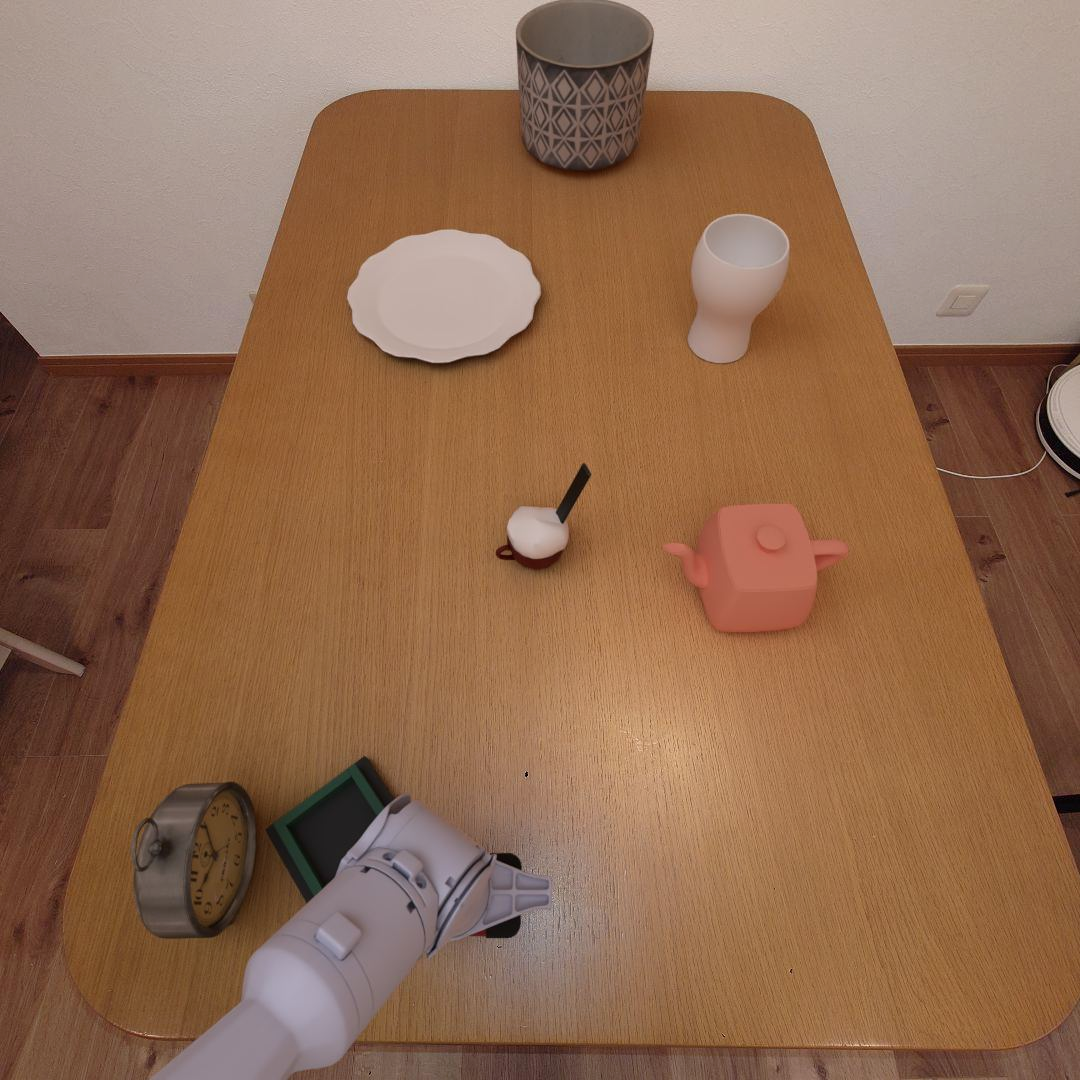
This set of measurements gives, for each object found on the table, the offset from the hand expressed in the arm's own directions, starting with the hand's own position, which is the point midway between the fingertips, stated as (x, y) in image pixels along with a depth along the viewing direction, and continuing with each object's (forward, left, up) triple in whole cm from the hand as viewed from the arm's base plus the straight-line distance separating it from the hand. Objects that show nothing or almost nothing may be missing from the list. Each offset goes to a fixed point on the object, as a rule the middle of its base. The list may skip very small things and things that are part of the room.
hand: (461, 900), depth 58 cm
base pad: (-5, +11, -1) cm, 12 cm away
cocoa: (+26, +22, -2) cm, 34 cm away
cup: (+63, +32, -2) cm, 71 cm away
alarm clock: (-14, +15, -2) cm, 20 cm away
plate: (+40, +60, -2) cm, 72 cm away
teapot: (+39, +6, -2) cm, 39 cm away
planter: (+77, +76, -2) cm, 108 cm away
